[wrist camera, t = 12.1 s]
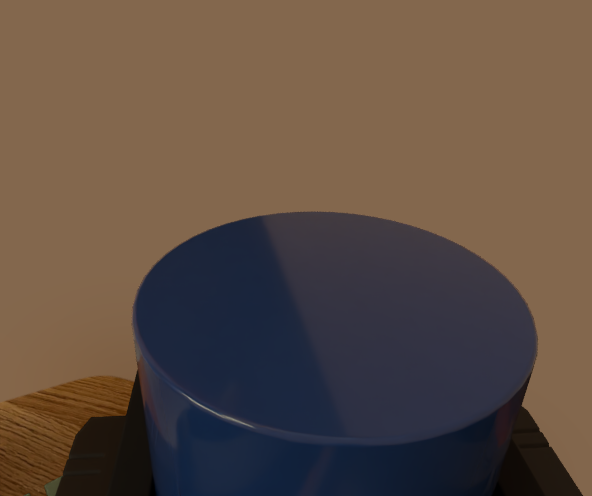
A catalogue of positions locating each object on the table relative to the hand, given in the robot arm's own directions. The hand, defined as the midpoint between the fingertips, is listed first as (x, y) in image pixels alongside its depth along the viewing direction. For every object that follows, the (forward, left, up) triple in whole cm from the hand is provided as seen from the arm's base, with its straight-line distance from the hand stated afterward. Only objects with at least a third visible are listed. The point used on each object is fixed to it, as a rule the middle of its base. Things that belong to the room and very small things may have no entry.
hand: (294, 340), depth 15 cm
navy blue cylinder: (+4, -3, -6) cm, 8 cm away
